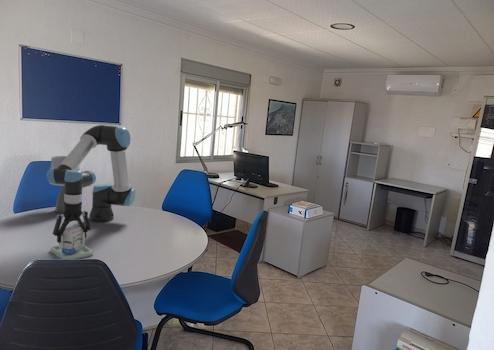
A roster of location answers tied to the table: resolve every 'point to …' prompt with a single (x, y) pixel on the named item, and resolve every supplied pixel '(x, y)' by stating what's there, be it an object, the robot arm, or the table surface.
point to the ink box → (72, 239)
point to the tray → (76, 255)
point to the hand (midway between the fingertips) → (71, 246)
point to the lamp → (60, 200)
